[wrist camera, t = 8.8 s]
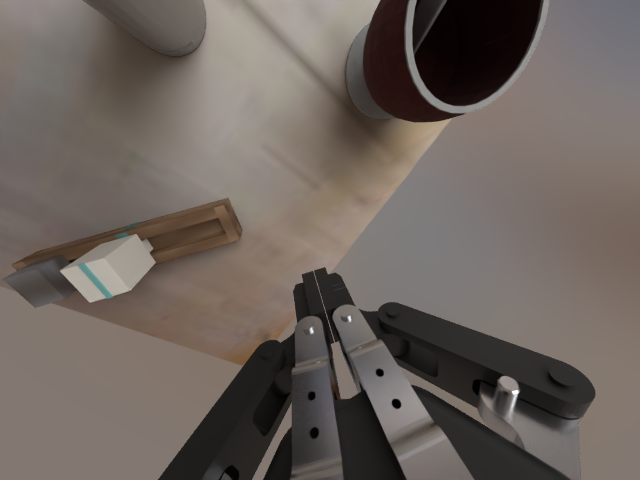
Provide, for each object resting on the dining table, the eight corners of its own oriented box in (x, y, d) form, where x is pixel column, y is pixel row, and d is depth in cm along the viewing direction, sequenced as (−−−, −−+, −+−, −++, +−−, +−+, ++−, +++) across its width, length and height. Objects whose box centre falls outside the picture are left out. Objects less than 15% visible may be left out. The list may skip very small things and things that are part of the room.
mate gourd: (445, 67, 35) (626, 0, 17) (383, 144, 38) (481, 154, 20) (379, -33, 28) (556, -306, 11) (311, 68, 32) (362, -13, 14)
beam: (37, 250, 35) (-23, 281, 28) (228, 197, 37) (217, 212, 30) (67, 281, 38) (19, 316, 31) (242, 230, 40) (236, 252, 33)
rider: (109, 237, 34) (57, 271, 26) (143, 227, 34) (102, 258, 26) (131, 265, 36) (89, 304, 28) (162, 256, 37) (130, 292, 28)
